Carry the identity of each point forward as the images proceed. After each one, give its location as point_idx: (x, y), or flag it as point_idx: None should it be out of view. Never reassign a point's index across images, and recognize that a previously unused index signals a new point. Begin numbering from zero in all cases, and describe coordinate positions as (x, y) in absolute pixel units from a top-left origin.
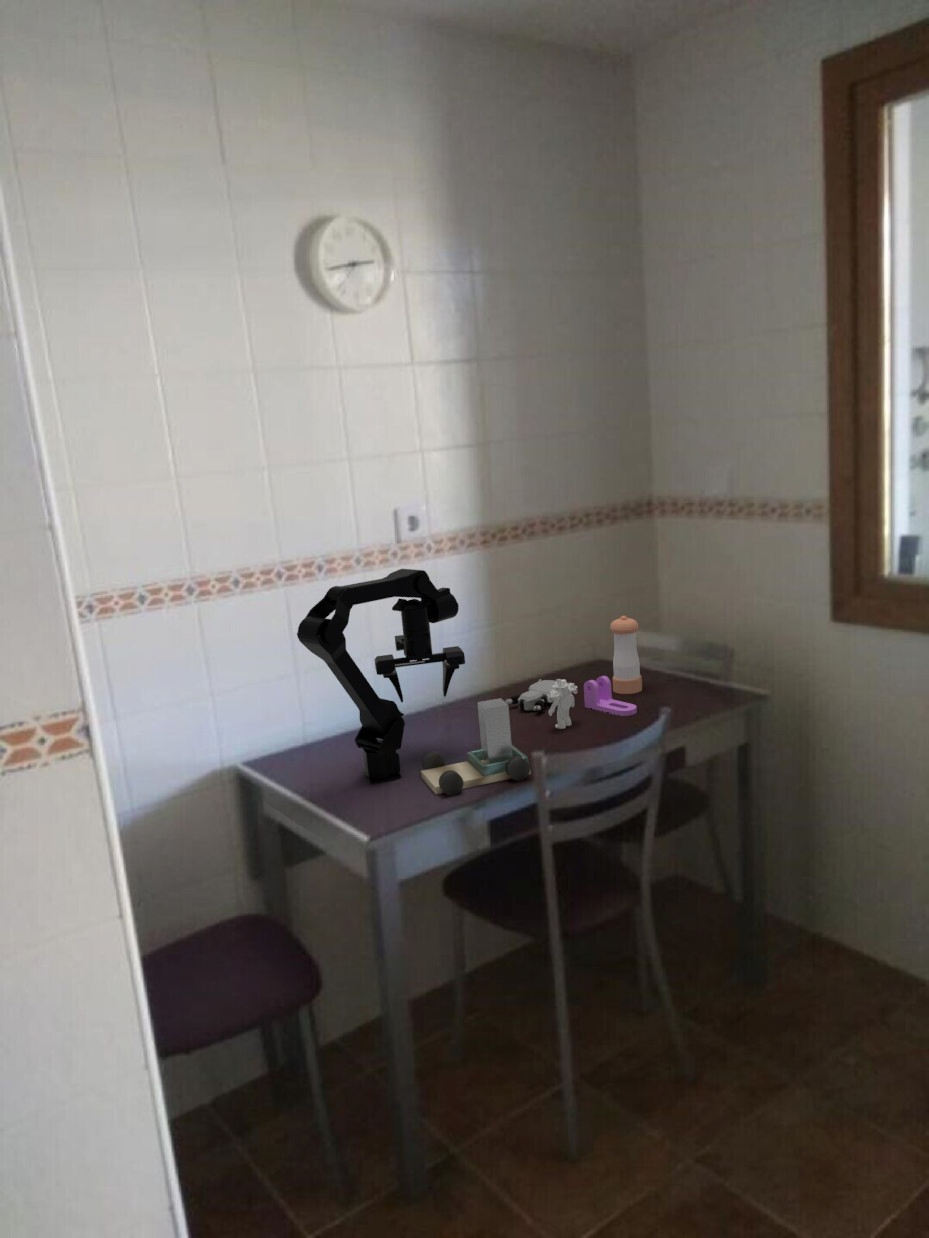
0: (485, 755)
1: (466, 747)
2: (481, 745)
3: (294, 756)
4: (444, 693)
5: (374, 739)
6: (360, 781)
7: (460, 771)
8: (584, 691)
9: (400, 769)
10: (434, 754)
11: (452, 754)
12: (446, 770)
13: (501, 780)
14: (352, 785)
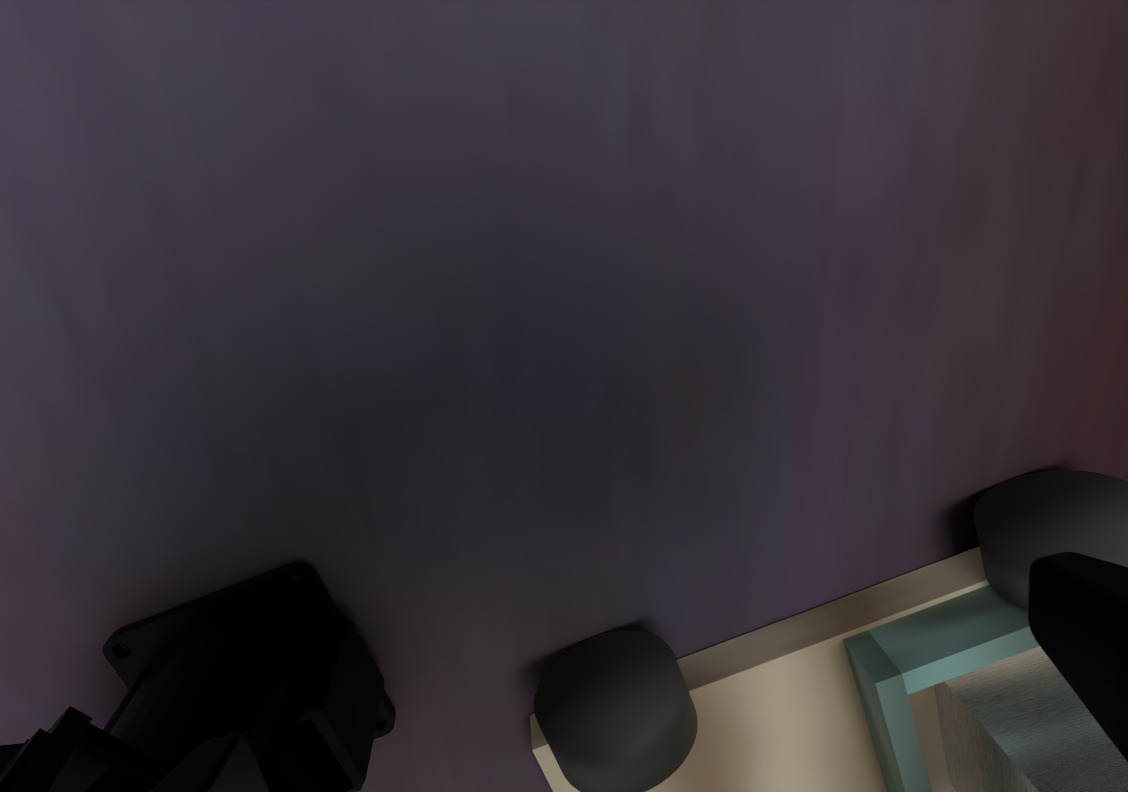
0: (987, 789)
1: (844, 215)
2: (1010, 761)
3: None
4: (1090, 703)
5: (71, 760)
6: None
7: (781, 779)
8: None
9: (382, 689)
10: (648, 788)
11: (729, 350)
12: (698, 759)
13: None
14: None
